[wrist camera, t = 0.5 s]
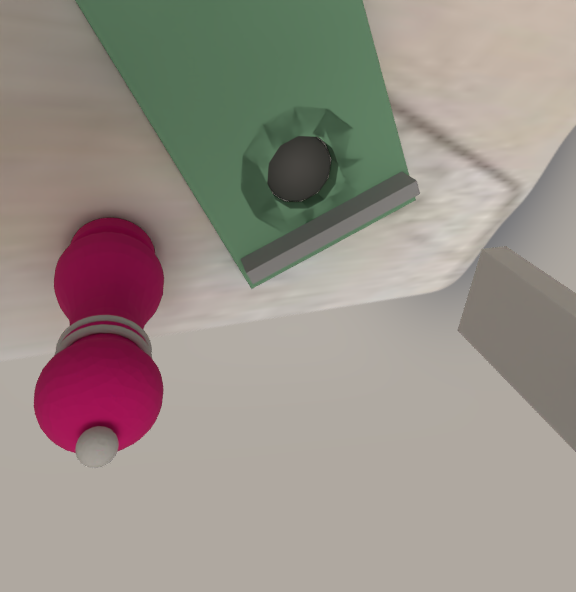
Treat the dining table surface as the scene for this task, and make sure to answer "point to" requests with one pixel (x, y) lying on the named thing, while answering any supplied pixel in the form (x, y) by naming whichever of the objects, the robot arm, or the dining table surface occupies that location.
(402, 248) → the dining table surface
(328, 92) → the putting mat
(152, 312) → the pepper mill
